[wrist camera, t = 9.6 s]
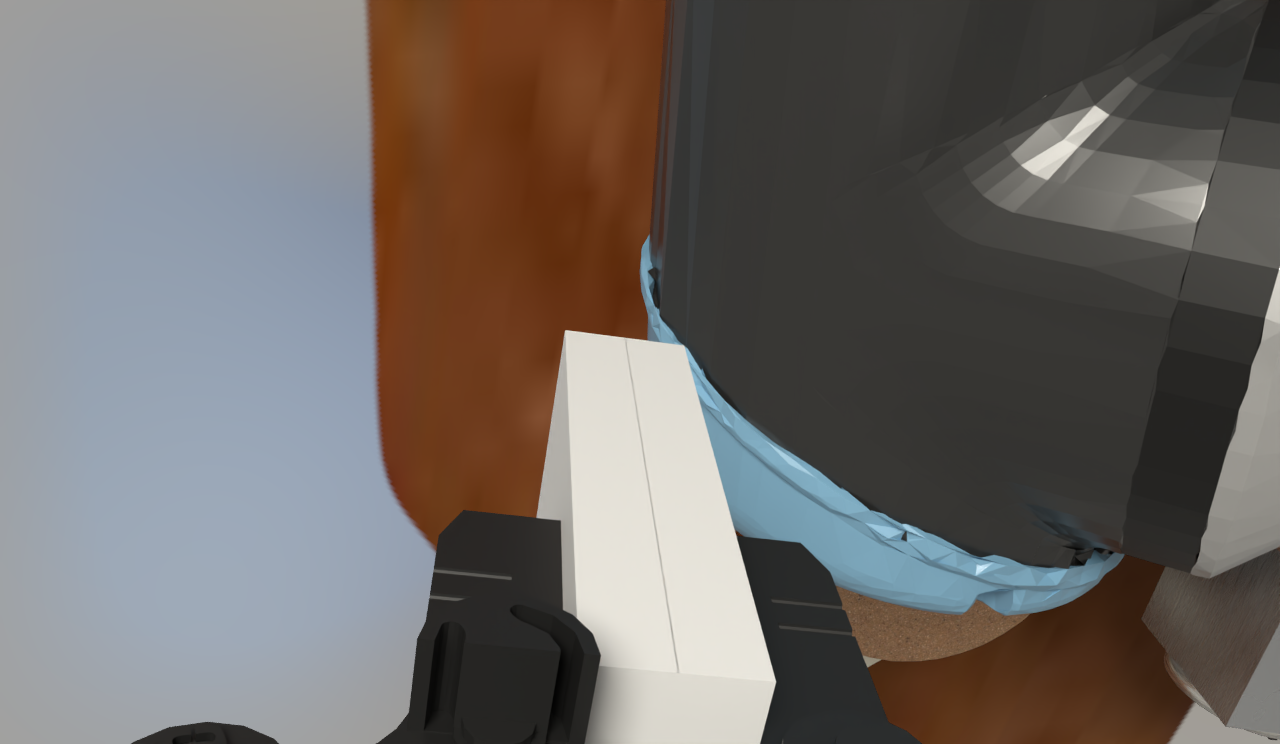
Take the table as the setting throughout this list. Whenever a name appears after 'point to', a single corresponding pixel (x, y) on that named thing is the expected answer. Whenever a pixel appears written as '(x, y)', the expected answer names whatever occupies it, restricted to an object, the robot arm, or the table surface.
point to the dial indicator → (1224, 640)
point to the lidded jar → (920, 628)
